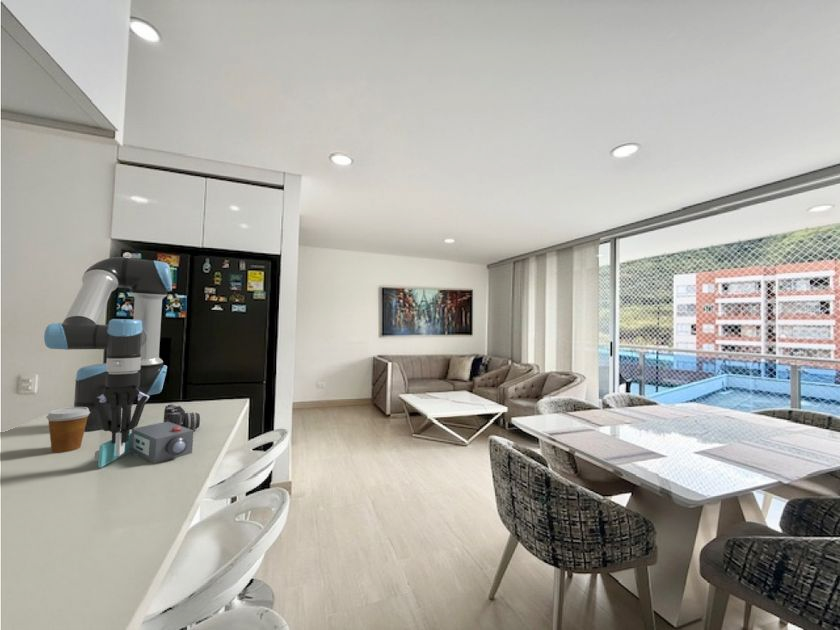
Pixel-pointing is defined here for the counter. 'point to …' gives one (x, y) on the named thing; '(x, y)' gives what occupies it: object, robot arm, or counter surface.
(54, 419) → the disposable coffee cup
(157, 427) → the grey boxy piece
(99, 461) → the door
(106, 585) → the counter surface
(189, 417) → the camera
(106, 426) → the robot arm
